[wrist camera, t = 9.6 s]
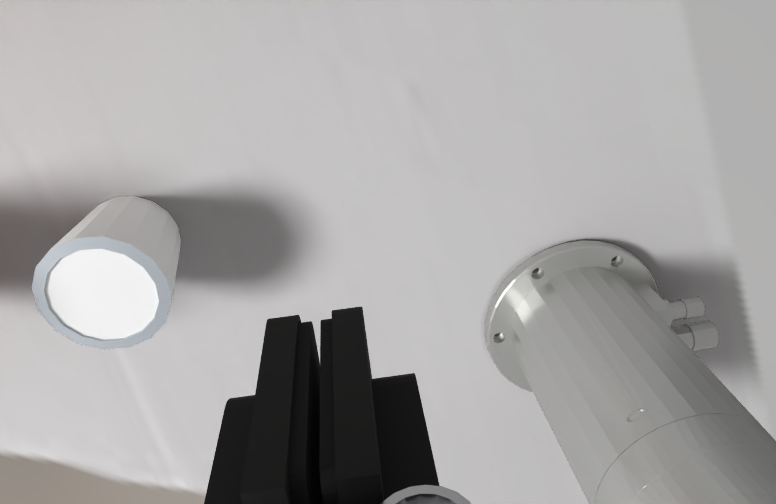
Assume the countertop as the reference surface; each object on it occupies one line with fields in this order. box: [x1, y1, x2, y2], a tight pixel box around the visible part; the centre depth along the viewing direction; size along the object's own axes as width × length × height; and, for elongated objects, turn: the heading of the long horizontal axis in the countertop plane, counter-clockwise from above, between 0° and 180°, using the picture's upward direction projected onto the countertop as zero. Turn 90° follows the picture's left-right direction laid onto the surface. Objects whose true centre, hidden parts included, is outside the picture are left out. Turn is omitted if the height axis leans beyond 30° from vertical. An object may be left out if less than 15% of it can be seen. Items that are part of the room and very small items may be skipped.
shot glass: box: [31, 196, 181, 349], centre depth 36 cm, size 7×7×7 cm
